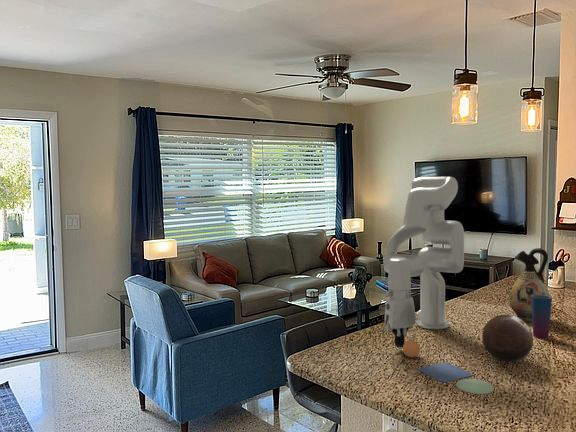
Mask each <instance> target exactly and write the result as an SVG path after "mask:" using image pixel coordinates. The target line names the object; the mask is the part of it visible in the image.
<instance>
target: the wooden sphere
mask: <svg viewBox="0 0 576 432" xmlns="http://www.w3.org/2000/svg"><path fill="white" fill-rule="evenodd" d="M481 339H482V343H483V346H484V349H485V350H486V351H487V353H488V354H489V355H490V356H491V357H493V358H494V359H495V360H498V361H500V362H502V363H512V364H513V363H517V362H519V361H520V362H521V361H522V360H524V359H525V358H526V357H528V355H529V354H530V352H531V351H532V349H533V346H534V345H533V344H534V336H533V331H531V328H530V327H529V325H528V324H527V323H526V321H522V320H521V319H519V318H518V317H517V316H516V315H515V316H514V315H513V314H512V315H510V314H499V315H495V316H494V317H492V318H490V319H489V320H488V321H487V322H486V324H485V325H484V327H483V330H482V335H481Z"/></svg>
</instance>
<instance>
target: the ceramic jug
mask: <svg viewBox="0 0 576 432" xmlns="http://www.w3.org/2000/svg"><path fill="white" fill-rule="evenodd" d="M535 254H540V255H542V256H543V258H542V263H541V265H540V267H539V268H538V271H537V269H536V267H535V265H539V264H540V261H539V259H537V257H535V256H534V255H535ZM548 259H549V256H548V252H547V251H546V250H545V249H544V248H540V247H539V248H537V247H536V248H533V249H532V250H531V251H529V253H526V252H525V250H522V251H520V252H519V253H518V254H516V255H515V256H514V260H515V261H518V262H521V263H523V264H524V265H525V269H524V270H523V272H522V273H521V274H520V275H519V277H518V278H517V279H516V281H514V284H513V285H512V287H511V290H510V293H509V298H508V299H509V306H510V308H511V310H512V311H513V312H514V313H515V316H516V317H518V318H519V319H521V320H522V321H524V322H528V323H529V322H530V323H533V320H532V300H531V296H532V295H536V294H539V295H548V296H551V295H550V291H549V289H548V287H547V285H546V284H545V279H544V275H543V272H544V271H545V269H546V266H547V263H548Z"/></svg>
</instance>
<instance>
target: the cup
mask: <svg viewBox="0 0 576 432" xmlns="http://www.w3.org/2000/svg"><path fill="white" fill-rule="evenodd" d="M531 300H532V320H533V322H532V336H533V338H537V339H549V335H550V334H549V333H550V323H551V310H552V301H553V297H552V296H551V295H550V296H548V295H539V294H536V295H532V296H531Z"/></svg>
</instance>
